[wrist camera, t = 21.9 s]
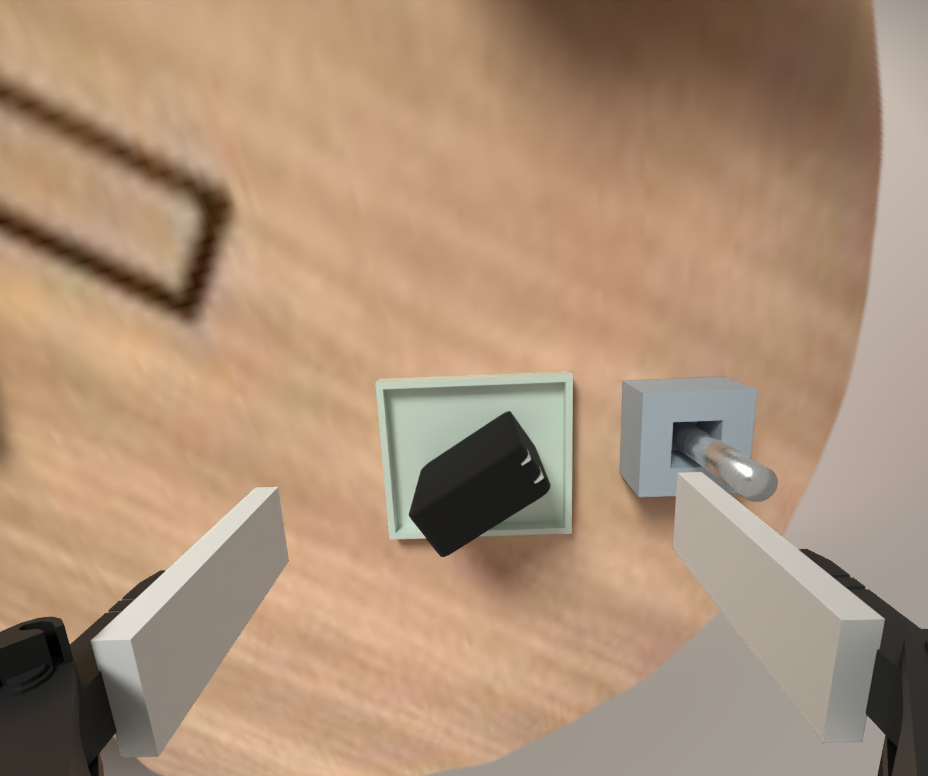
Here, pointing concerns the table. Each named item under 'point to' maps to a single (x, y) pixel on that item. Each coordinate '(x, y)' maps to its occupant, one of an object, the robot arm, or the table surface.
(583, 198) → the table surface
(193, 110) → the table surface
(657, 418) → the square hole cube
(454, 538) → the electronic device
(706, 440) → the cylinder
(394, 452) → the tray
